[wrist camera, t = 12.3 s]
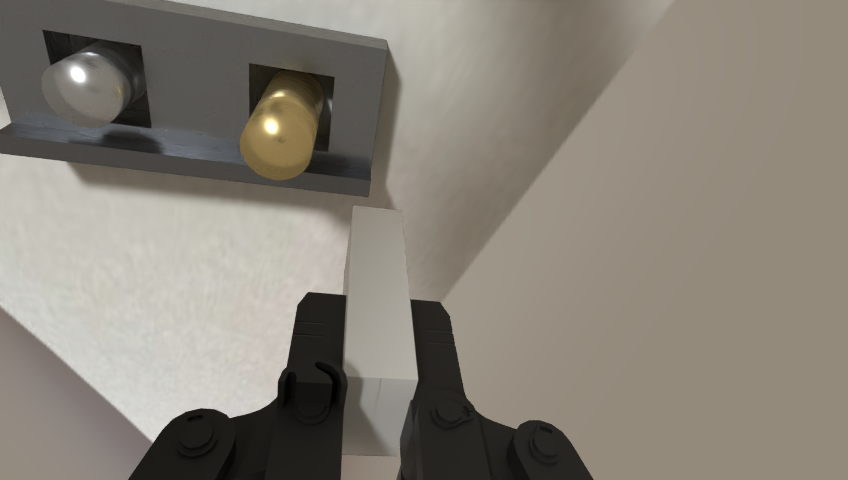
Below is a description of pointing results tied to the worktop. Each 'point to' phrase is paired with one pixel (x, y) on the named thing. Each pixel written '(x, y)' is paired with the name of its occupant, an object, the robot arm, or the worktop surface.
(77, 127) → the jig
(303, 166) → the gold metal cylinder
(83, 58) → the silver metal cylinder
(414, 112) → the worktop surface
